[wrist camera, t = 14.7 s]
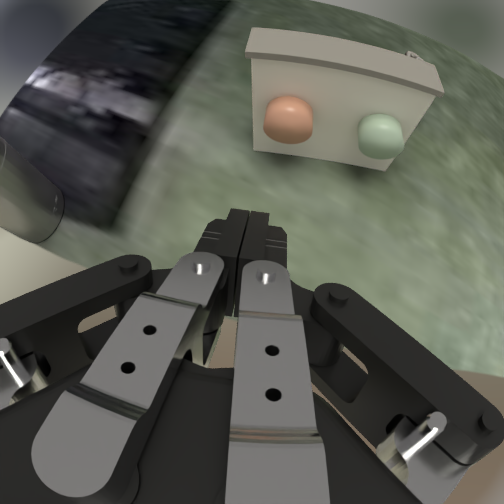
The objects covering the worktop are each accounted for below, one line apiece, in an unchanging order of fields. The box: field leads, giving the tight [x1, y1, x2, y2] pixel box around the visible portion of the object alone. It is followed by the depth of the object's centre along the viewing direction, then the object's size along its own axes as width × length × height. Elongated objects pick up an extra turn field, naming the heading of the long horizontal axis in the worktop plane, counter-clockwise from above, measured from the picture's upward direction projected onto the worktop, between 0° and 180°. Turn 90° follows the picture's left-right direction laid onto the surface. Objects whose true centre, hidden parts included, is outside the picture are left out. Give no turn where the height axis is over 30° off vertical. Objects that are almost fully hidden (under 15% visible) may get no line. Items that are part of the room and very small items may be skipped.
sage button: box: [358, 114, 404, 160], centre depth 30 cm, size 5×8×5 cm, turn 172°
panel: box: [245, 28, 444, 171], centre depth 31 cm, size 19×4×17 cm, turn 82°
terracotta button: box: [263, 96, 313, 144], centre depth 30 cm, size 5×8×5 cm, turn 172°
